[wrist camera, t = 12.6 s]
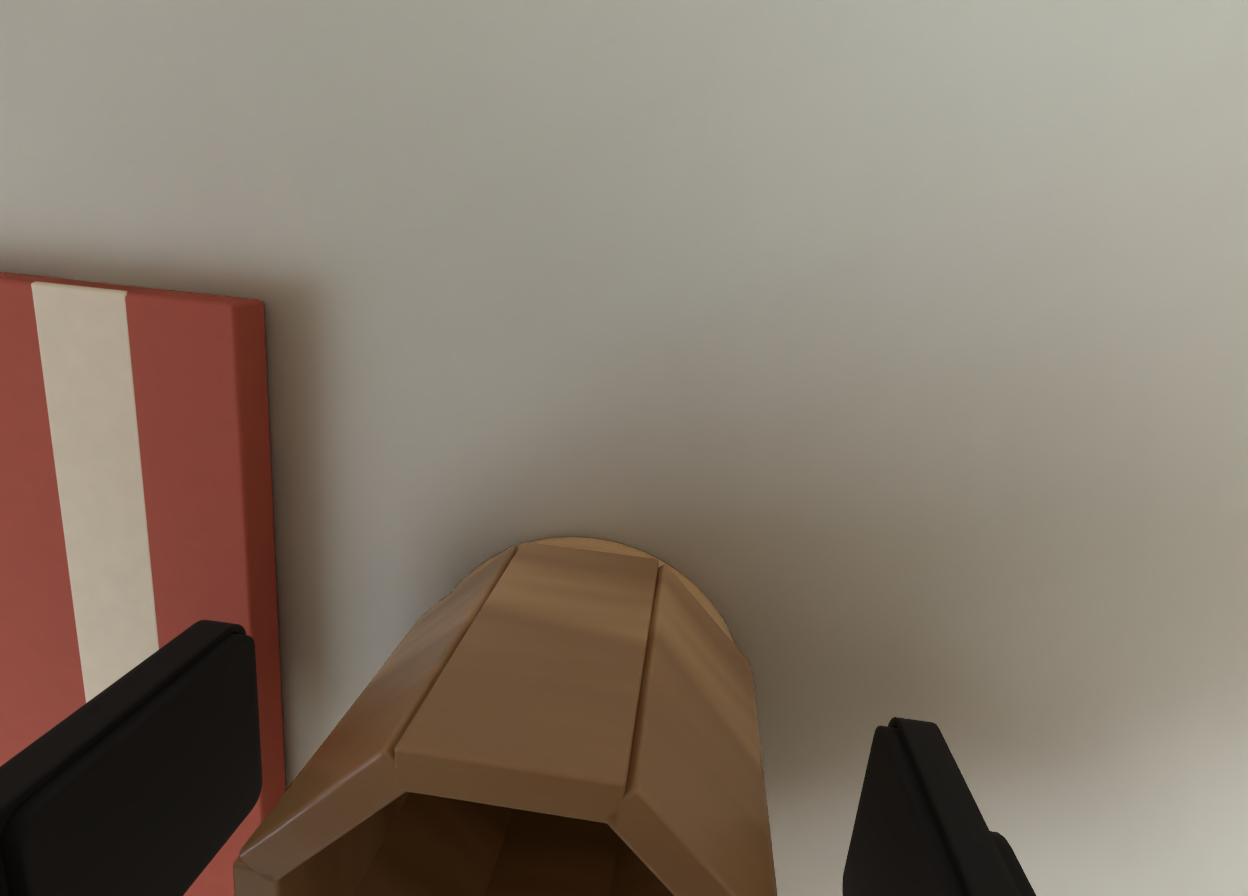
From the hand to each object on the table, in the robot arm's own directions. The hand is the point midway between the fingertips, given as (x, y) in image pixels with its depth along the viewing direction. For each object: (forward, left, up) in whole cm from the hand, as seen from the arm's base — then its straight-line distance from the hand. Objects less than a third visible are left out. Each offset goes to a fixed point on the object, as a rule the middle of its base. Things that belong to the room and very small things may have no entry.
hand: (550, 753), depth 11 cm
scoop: (+4, 0, -2) cm, 5 cm away
